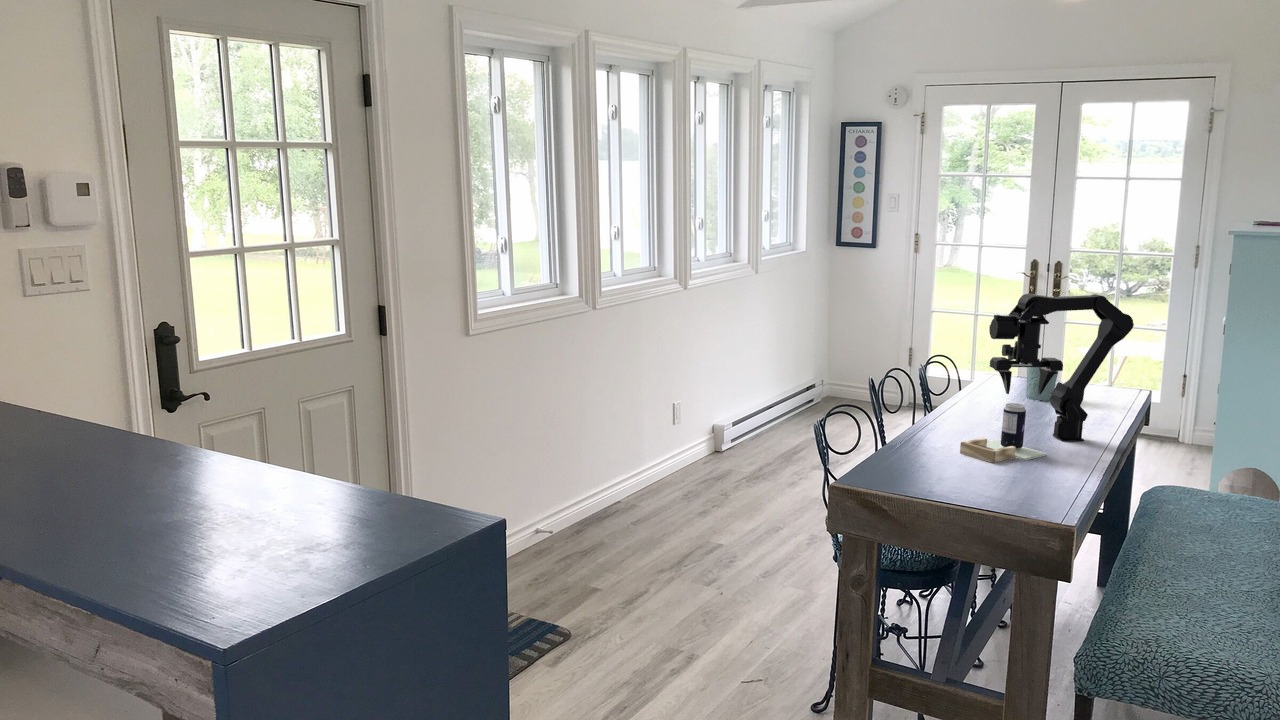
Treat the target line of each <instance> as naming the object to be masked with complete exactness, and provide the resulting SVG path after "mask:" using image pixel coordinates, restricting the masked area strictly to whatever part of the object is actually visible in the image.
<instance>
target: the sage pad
mask: <svg viewBox="0 0 1280 720" xmlns="http://www.w3.org/2000/svg"><path fill="white" fill-rule="evenodd" d="M999 448H1003V446H1002V445H1001V439H992V440H987V449H990V450H994V449H999ZM1047 454H1048V453H1046V452H1043V451H1040V450H1036V449H1032V448H1029V447H1026V446H1023V447H1022V448H1020V449H1019V450H1015V457H1016V459H1020V460H1022V459H1023V461H1028V460H1032V459H1037V458H1041V457H1042V456H1043V457H1047V456H1048V455H1047Z"/></svg>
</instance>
